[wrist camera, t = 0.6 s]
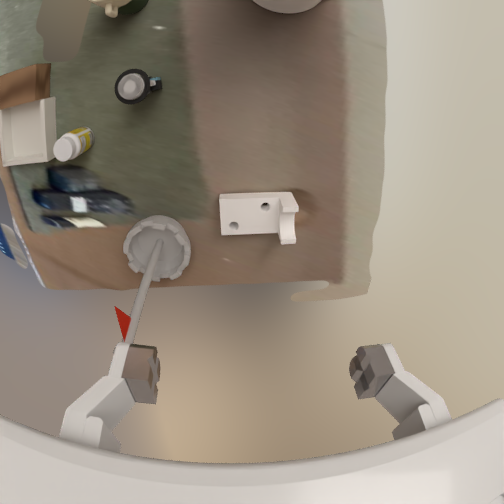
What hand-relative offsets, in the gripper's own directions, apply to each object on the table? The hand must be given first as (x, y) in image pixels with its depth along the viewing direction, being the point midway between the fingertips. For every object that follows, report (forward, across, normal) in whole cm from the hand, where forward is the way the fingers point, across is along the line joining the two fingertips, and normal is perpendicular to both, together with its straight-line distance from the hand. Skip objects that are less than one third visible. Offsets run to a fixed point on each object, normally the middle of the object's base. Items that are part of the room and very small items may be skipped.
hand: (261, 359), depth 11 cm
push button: (+44, +16, -9) cm, 47 cm away
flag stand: (+44, +14, +21) cm, 50 cm away
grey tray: (+43, +41, -3) cm, 60 cm away
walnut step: (+43, +41, -13) cm, 61 cm away
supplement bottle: (+44, +28, 0) cm, 52 cm away
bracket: (+44, -5, +13) cm, 46 cm away
